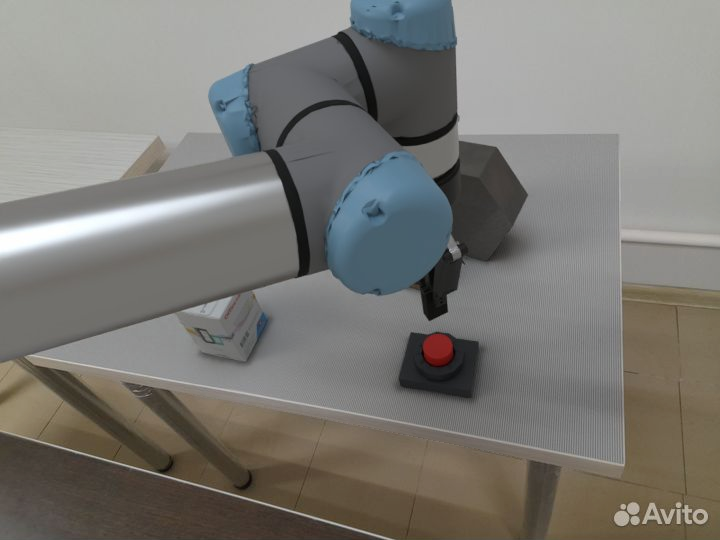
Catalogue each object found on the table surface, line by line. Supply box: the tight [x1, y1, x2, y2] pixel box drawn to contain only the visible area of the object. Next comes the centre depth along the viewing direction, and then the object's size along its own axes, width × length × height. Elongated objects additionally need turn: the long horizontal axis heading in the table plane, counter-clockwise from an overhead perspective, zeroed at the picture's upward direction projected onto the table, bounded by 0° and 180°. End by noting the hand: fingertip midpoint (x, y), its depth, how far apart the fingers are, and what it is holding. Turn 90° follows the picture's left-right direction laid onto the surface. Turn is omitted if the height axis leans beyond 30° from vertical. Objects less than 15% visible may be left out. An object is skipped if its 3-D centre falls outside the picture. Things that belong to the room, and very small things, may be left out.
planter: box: [451, 140, 529, 262], centre depth 85 cm, size 17×8×21 cm
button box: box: [398, 331, 480, 399], centre depth 74 cm, size 10×8×4 cm
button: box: [423, 334, 453, 366], centre depth 72 cm, size 4×4×2 cm
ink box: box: [173, 290, 268, 363], centre depth 81 cm, size 8×8×12 cm
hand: (435, 312), depth 66 cm, fingers closed
